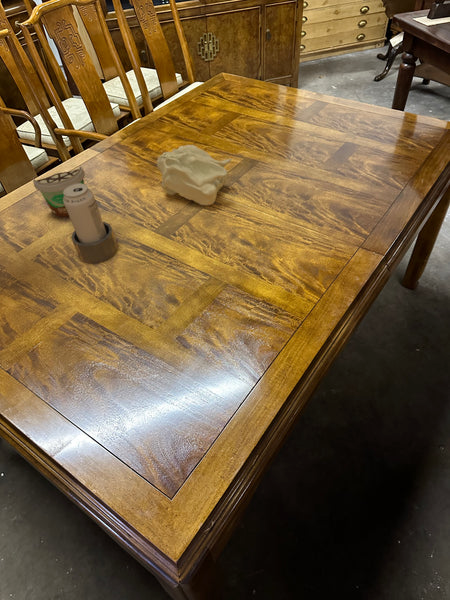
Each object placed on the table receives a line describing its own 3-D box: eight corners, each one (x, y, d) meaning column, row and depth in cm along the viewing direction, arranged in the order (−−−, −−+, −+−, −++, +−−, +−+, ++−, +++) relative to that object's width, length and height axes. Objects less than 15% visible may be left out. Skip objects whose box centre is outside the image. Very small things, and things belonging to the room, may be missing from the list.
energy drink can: (86, 241, 96) (63, 183, 85) (112, 239, 96) (92, 180, 85) (82, 258, 92) (57, 199, 81) (109, 255, 91) (88, 196, 81)
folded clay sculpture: (218, 213, 112) (244, 162, 103) (196, 229, 102) (222, 175, 93) (165, 176, 114) (185, 123, 104) (137, 189, 104) (157, 131, 94)
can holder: (75, 265, 91) (67, 247, 87) (82, 241, 97) (75, 223, 94) (115, 261, 91) (109, 243, 87) (119, 237, 97) (113, 219, 93)
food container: (49, 225, 102) (33, 189, 95) (46, 213, 107) (30, 178, 99) (99, 211, 105) (86, 175, 98) (94, 199, 109) (81, 164, 102)
